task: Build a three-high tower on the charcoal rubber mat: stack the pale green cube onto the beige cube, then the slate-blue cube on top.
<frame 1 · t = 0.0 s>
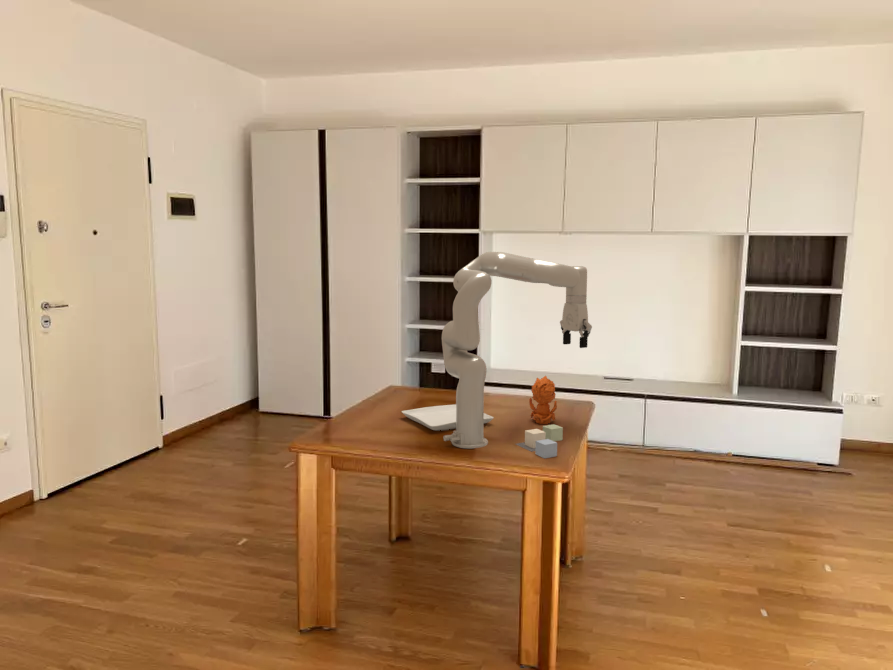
hand: (574, 345, 259), 31 cm above the table, fingers open, 9 cm apart
square plate: (446, 423, 272), on the table
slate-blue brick: (546, 456, 228), on the table
beige cube: (534, 445, 239), resting on mat
mat: (534, 446, 239), on the table
orange sculpted figure: (543, 422, 272), on the table
pale green cube: (552, 440, 247), on the table
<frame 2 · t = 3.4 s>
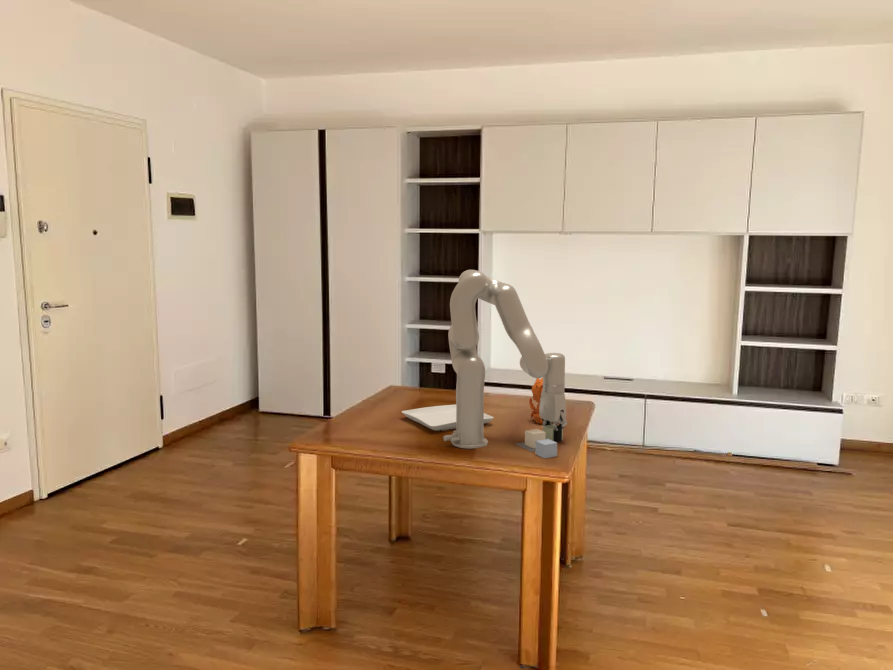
hand: (552, 438, 247), 1 cm above the table, fingers closed on pale green cube, 5 cm apart
pale green cube: (552, 440, 247), on the table, touching gripper
everything else where it was.
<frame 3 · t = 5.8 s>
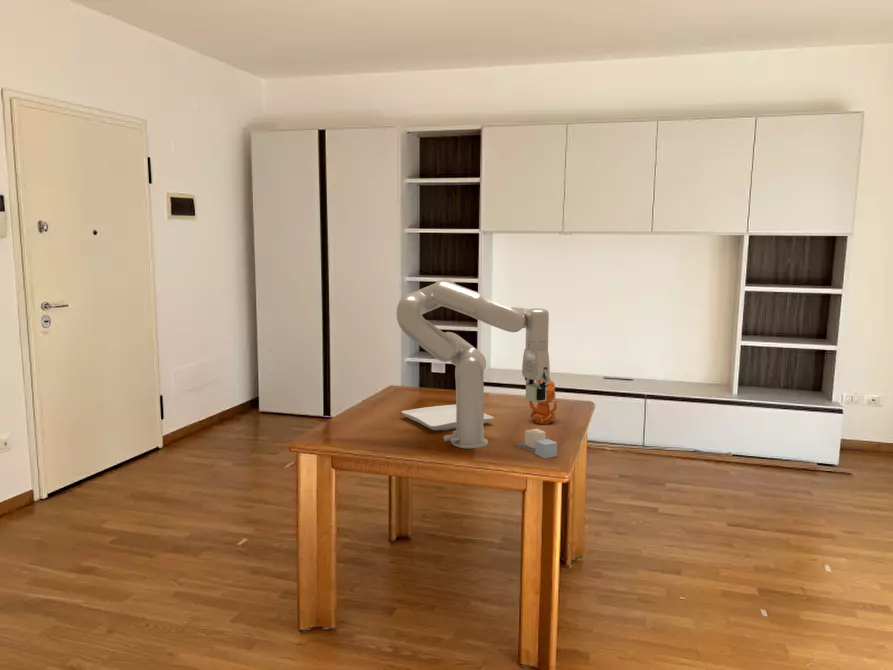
hand: (535, 397, 237), 17 cm above the table, fingers closed on pale green cube, 4 cm apart
pale green cube: (535, 399, 237), point 16 cm above the table, touching gripper
everything else where it was.
when the fingers open (7 cm above the table, at t = 8.0 s): pale green cube stays where it is, resting on beige cube.
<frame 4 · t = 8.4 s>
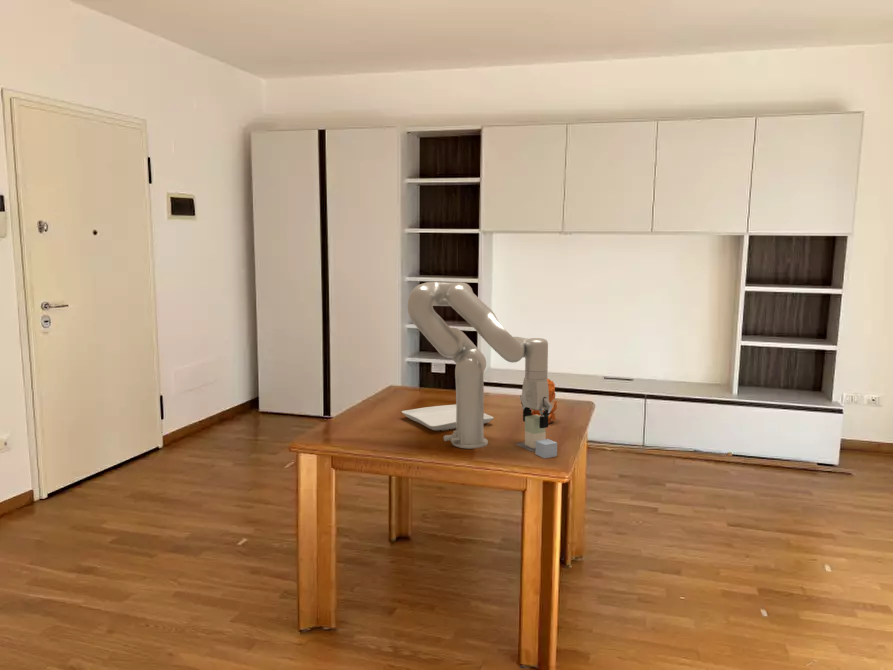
hand: (535, 424, 238), 8 cm above the table, fingers open, 9 cm apart
beige cube: (535, 445, 239), resting on mat, touching pale green cube
pale green cube: (535, 431, 238), point 5 cm above the table, touching beige cube
everything else where it was.
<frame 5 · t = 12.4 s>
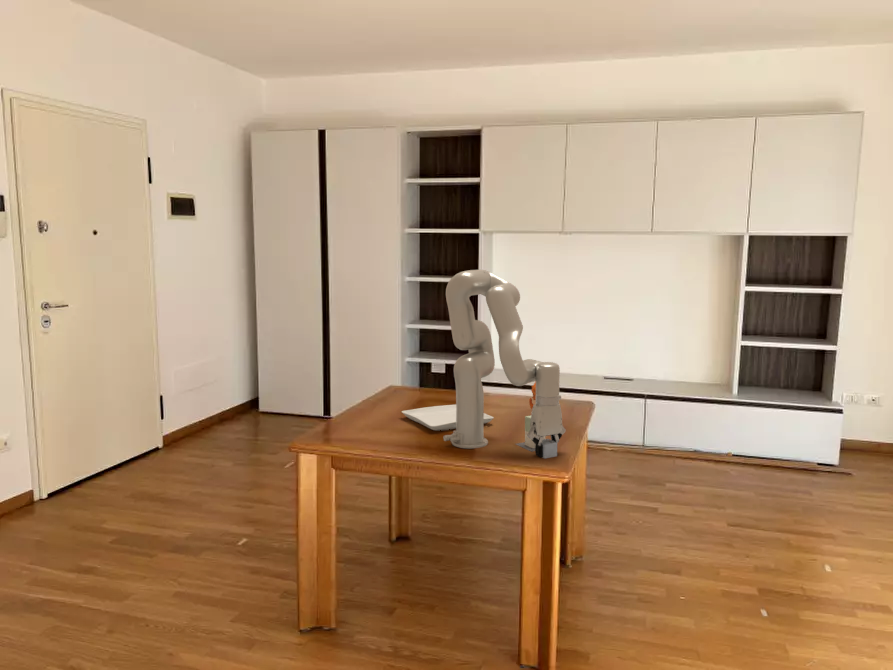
hand: (546, 454, 228), 1 cm above the table, fingers closed on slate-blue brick, 5 cm apart
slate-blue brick: (546, 456, 228), on the table, touching gripper
everything else where it was.
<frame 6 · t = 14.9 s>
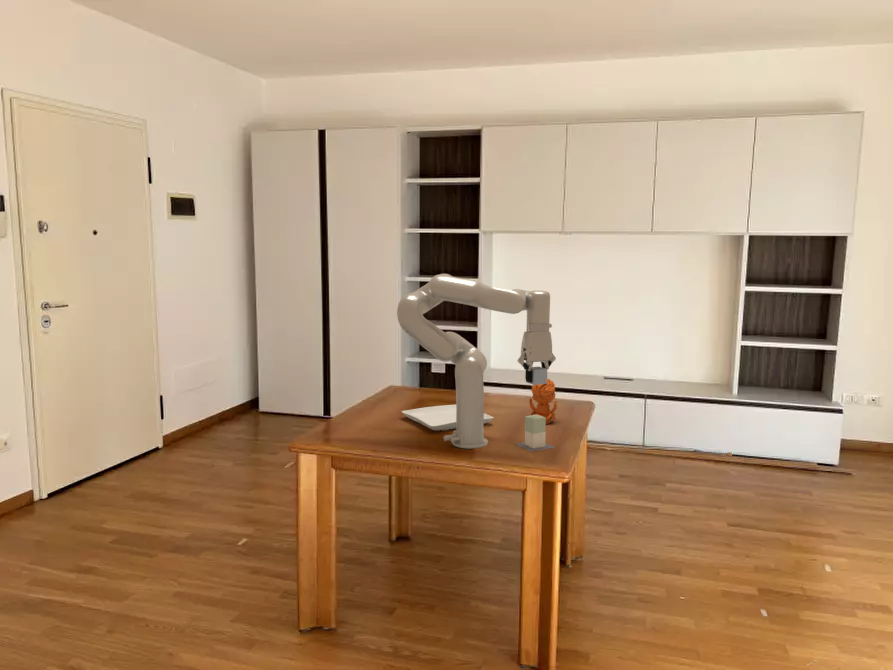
hand: (536, 380, 235), 23 cm above the table, fingers closed on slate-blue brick, 5 cm apart
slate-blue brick: (536, 382, 235), point 22 cm above the table, touching gripper
everything else where it was.
when the fingers open (12 cm above the table, at t = 17.5 s): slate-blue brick stays where it is, resting on pale green cube.
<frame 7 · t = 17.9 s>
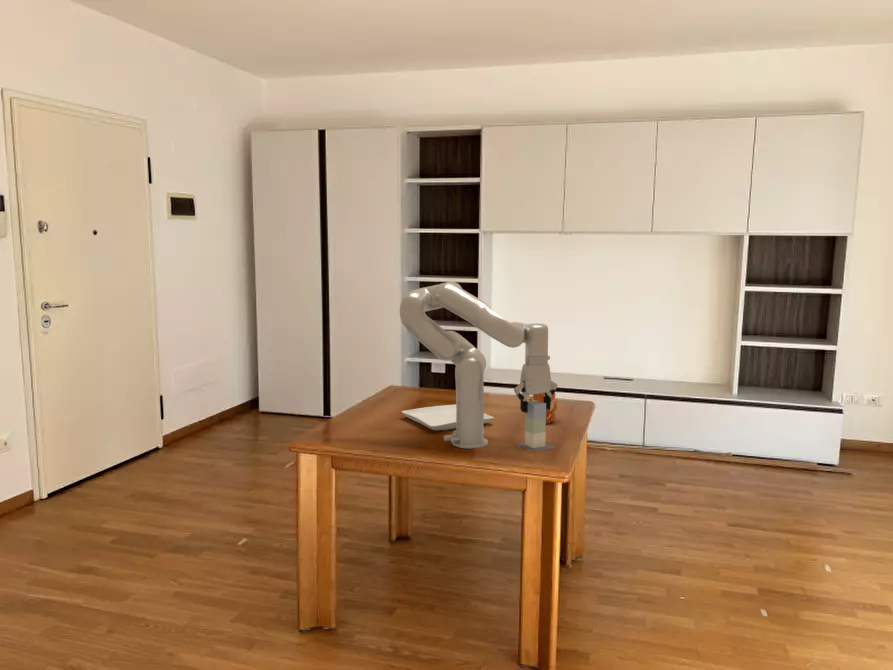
hand: (535, 410, 237), 13 cm above the table, fingers open, 9 cm apart
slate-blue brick: (535, 417, 238), point 10 cm above the table, touching pale green cube
pale green cube: (535, 431, 238), point 5 cm above the table, touching beige cube, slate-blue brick
everything else where it was.
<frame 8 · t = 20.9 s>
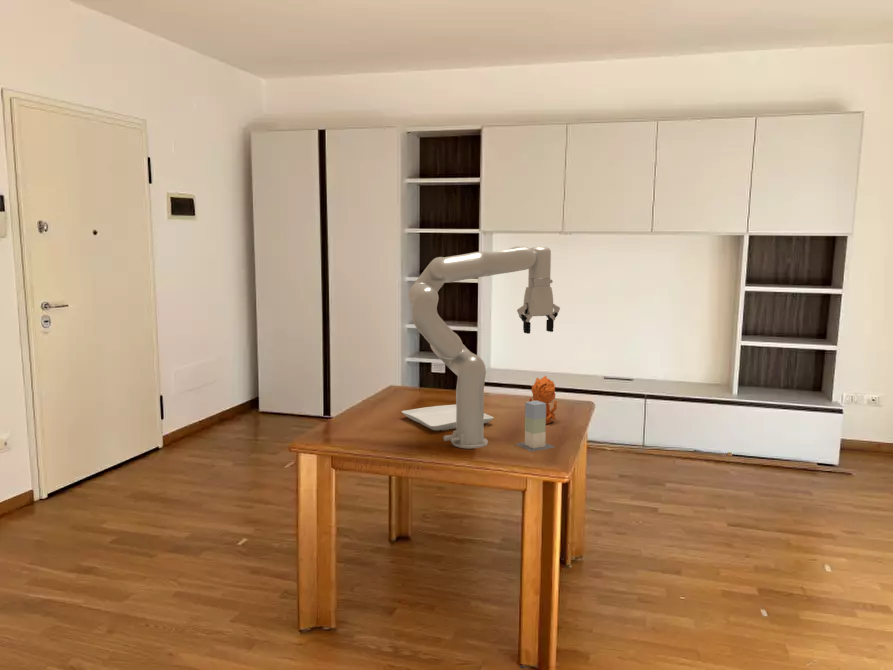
hand: (538, 332, 243), 38 cm above the table, fingers open, 9 cm apart
nothing on the table moved.
at the end: pale green cube 0.1 cm off-centre on the beige cube, point 5.0 cm above the beige cube's base; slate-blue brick 0.1 cm off-centre on the pale green cube, point 5.0 cm above the pale green cube's base; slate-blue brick tilted 0° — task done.
